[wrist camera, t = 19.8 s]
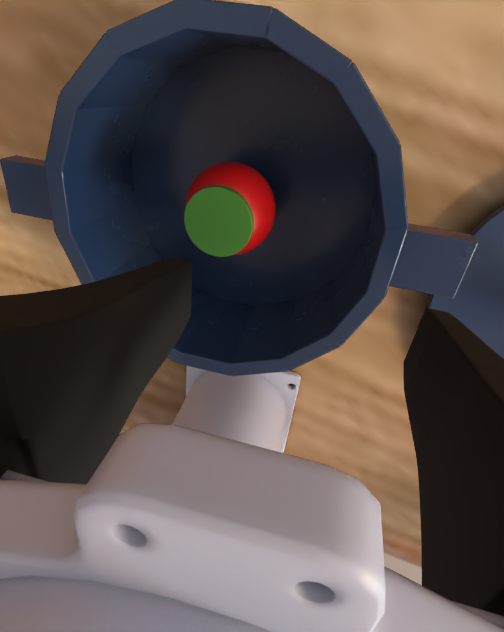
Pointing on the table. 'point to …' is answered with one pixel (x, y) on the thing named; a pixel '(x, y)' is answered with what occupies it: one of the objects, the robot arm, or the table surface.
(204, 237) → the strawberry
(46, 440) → the robot arm
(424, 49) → the table surface
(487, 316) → the lid
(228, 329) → the pot
